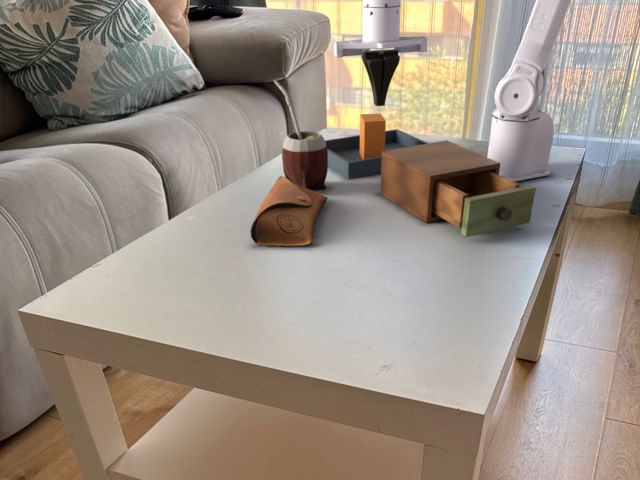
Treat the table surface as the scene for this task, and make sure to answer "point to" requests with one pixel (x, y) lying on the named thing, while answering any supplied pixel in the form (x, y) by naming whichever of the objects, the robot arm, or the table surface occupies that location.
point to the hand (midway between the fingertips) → (379, 104)
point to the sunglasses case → (287, 215)
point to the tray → (348, 156)
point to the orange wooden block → (372, 135)
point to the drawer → (482, 202)
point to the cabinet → (426, 173)
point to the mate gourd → (304, 155)
